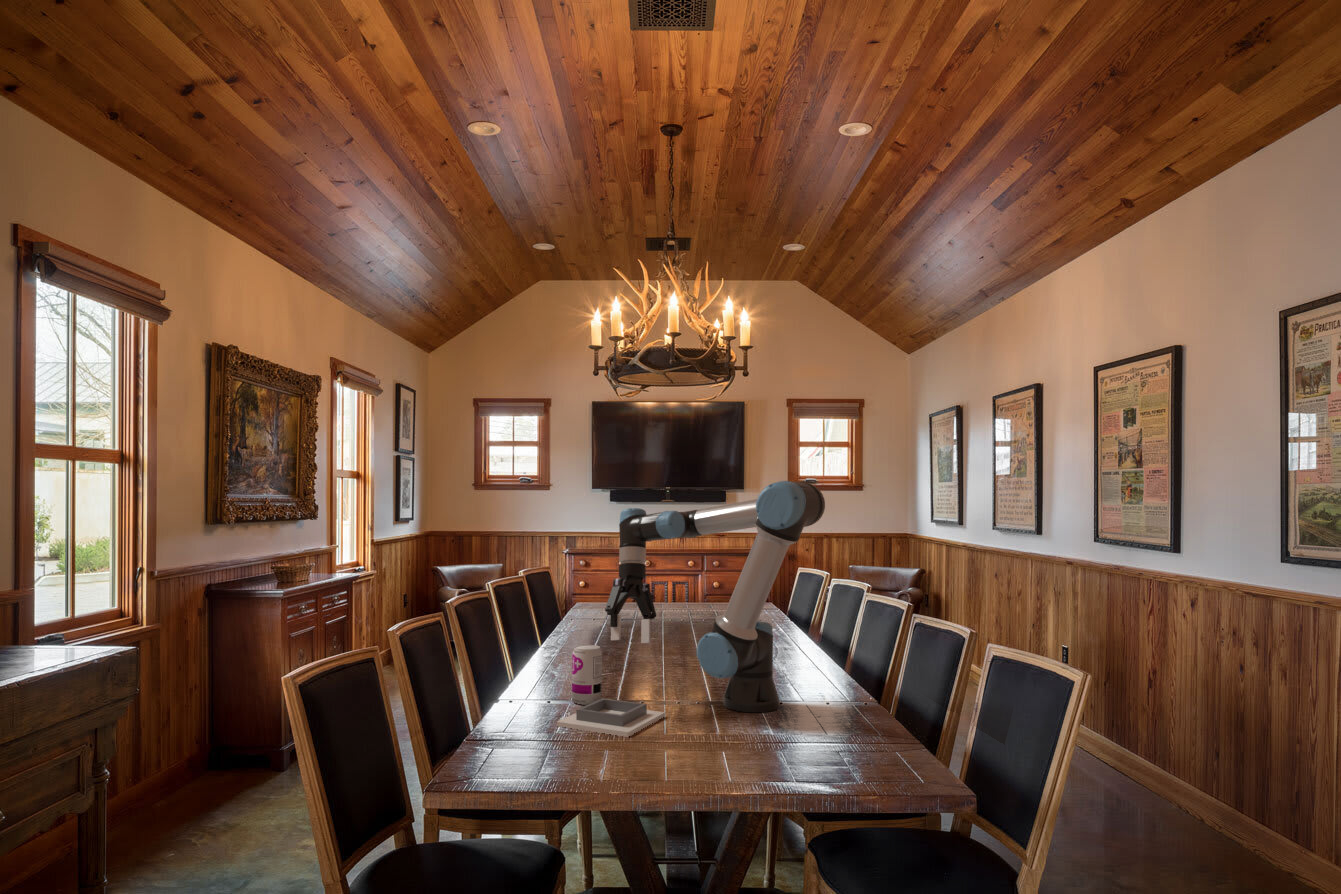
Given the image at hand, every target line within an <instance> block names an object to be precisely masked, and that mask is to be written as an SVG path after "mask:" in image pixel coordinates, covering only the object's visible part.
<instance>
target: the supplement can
mask: <svg viewBox="0 0 1341 894" xmlns="http://www.w3.org/2000/svg"><path fill="white" fill-rule="evenodd" d="M571 659H572V662H571V665H572V668H571V701H572V702H573V703H574V702H575V703H577V704H576V705H578V704H582V705H581V706H586V705H589V704H591V703H593V702H595V701H598V700H600V699H602V691H603V690H602V689H603V688H602V686H603V684H602V682H603V679H602V678H603V677H602V676H603V652H602V650H601V646H599V645H595V644H581V645H575V646H574V649H573V651H572V658H571ZM575 703H574V704H575Z"/></svg>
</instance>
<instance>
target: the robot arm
mask: <svg viewBox="0 0 1341 894" xmlns="http://www.w3.org/2000/svg"><path fill="white" fill-rule="evenodd" d="M825 510H826V501H825V497H824V494H823V493H822V491H821V490H820V489H819V488H818V487H817V486H816V485H814V484H812V483H810V482H805V481H789V480H781V481H777V482H773V483H770V484H768V485H767V486H765V487H764V488H763V489H762V490H761V491H760V493H759V494H758V496H757V499H756V498H755V499H750V500H743V501H739V502H734V503H732V502H731V503H727V504H722V505H716V506H710V507H704V508H699V509H693V510H688V511H678V510H665V511H664V510H663V511H660V512H654V513H649V514H647V512H646V510H644V509H643V508H639V507H637V508H636V507H635V508H634V507H633V508H630V507H629V508H625V509H623V510H621V512H620V515H619V524H618V526H619V546H618V547H619V548H618V549H619V555H618V562H619V563H620V564H619V565H618V578H614V579H613V580H612V582H613V583H612V589H611V592H610V594H609V597H608V599H607V602H606V605H605V608H604V610H605V612H606V615H607V616H610V623H609V624H610V641H620V640H621V632H622V628H621V627H622V623H621V622H622V615H621V614H620V612H621V611H622V609H623V607H624V605H625V604H626V602H627V601H628V598H630V599H633V600H634V601H635V603H636V605H637V607H638V609H639V611H640V613H641V616H642V618H643V619H641V625H640V627H641V630H640V632H641V634H640V637H641V638H640V644H651V639H652V638H651V637H652V636H651V635H652V633H651V631H652V620H654V619H655V618H656V617H657V612H656V609H655V608H656V607H655V604H654V601H653V597H652V593H651V585H650V583H649V582H648V583H643V580H644V579H645V578H646V571H647V569H646V564H645V563H647V547H646V546H647V542H652V541H662V540H674V539H687V538H688V539H690V538H692V539H693V538H697V537H700V536H705V535H711V534H712V535H713V534H719V533H720V534H721V533H726V532H727V533H728V532H732V531H733V532H734V531H738V530H739V531H740V530H747V529H753V528H756V530H757V533H756V536H755V539H754V540H753V542H752V546H751V548H750V551H749V553H748V556H747V557H746V561H744V565H743V567H742V570H741V572H740V575H739V577H738V580H737V582H736V584H735V587H734V589H733V592H732V594H731V595H730V596H731V597H730V599H729V602H728V604H727V607H726V608H725V611H724V613H723V614H720V615H717V616H716V617H715V619H714V622H713V625H712V627H711V629H710V632H708V633H705V634H704V635H703V636H702V637H701V638H700V640H699V641H698V643H697V646H696V657H697V660H698V662H699V664H700V667H701V668H702V670H703V671H704V672H705V673H706V674H707V675H708V676H711V677H713V678H715V679H724V678H725V679H726V678H728V682H727V685H726V688H725V691H724V694H723V706H724V707H725V708H727V709H728V710H731V709H732V710H731V711H735V710H736V712H741V711H742V712H743V713H767V712H772V711H775V710H779V708H780V696H779V694H778V690H777V687H776V685H775V681H774V677H773V675H774V673H773V670H774V669H773V668H774V667H773V665H774V664H773V663H774V659H773V658H774V649H773V648H774V634H773V633H774V631H773V625H772V624H771V623H770V622H768V621H761V620H760V621H759V619H760V616H761V614H762V611H763V609H764V607H765V605H766V601H767V599H768V597H769V596H770V592H771V591H772V587H773V585H774V584H775V581H776V579H777V576H778V573H779V571H780V568H781V566H782V564H783V561H784V559H785V557H786V555H787V552H788V550H789V547H790V546H791V545H793V544H797V543H798V541H799V540H800V537H801V535H802V532H803V531H804V528H805V527H807V528H808V527H810V526H813V525H815V524H816V523H818V521H820V519H821V518H823V515H824V514H825Z"/></svg>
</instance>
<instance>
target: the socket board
mask: <svg viewBox="0 0 1341 894" xmlns="http://www.w3.org/2000/svg"><path fill="white" fill-rule="evenodd" d="M647 707H648V704H647V703H644V702H643V703H642V702H633V701H625V700H618V699H611V698H604V697H603V698H602V699H600V700H598V701H595V702H593V703H591V704H589V705H583V706H582V707H580V708H577V709H576V712H575V713H573V714H570V715H568V716H566V717H564V718H562V719H560V720H558V721H556V727H557V726H558V728H563V727H566V728H565V729H570V728H572V729H571V730H576V729H578V731H584V732H589V731H590V733H591V732H592V733H596V732H597V733H596V734H602V733H605V734H604V735H609V734H611V735H610V736H615V735H617V737H622V736H623V737H622V738H629V736H630V737H631V736H633V735H635V734H636V732H637V733H639V732H640V731H642V730H644V729H646V728H648V727H650V726H651V725H653V724H655V723H657V722H659V721H660V720H659V719H661V718H662V719H664V718H665V717H666V712H665V711H656V710H652V709H651V710H649V709H648V708H647ZM663 717H664V718H663ZM662 719H661V720H662ZM658 720H659V721H658ZM656 721H657V722H656ZM654 722H655V723H654ZM652 723H653V724H652ZM650 724H651V725H650ZM649 725H650V726H649ZM647 726H648V727H647ZM645 727H646V728H645ZM643 728H644V729H643ZM641 729H642V730H641ZM638 731H639V732H638ZM634 733H635V734H634Z"/></svg>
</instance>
